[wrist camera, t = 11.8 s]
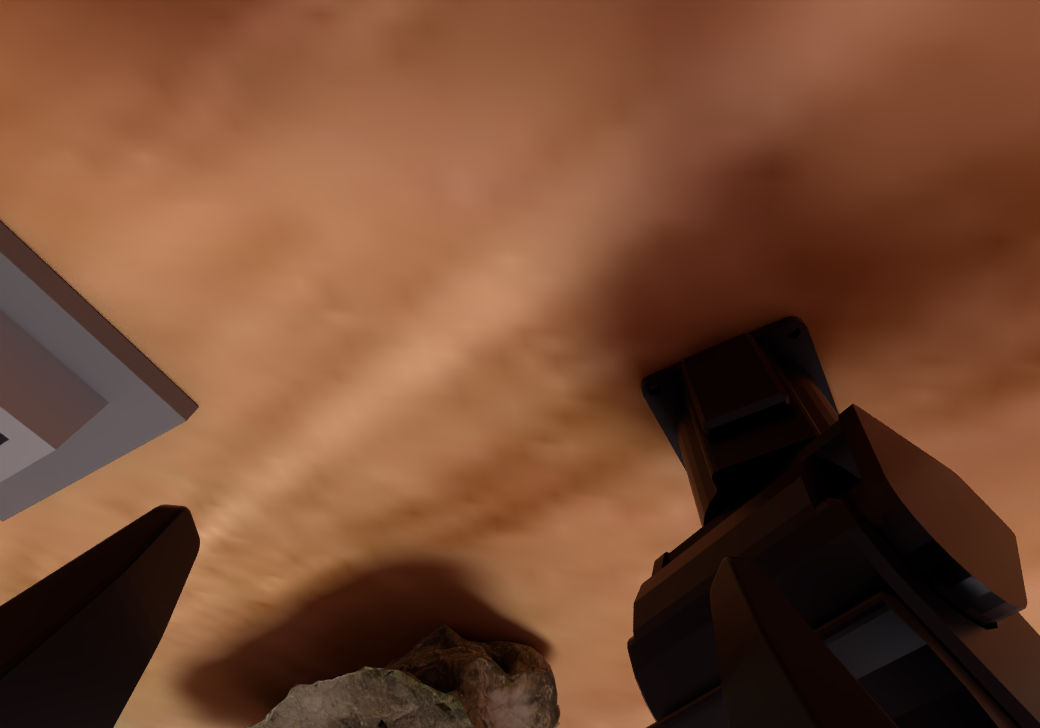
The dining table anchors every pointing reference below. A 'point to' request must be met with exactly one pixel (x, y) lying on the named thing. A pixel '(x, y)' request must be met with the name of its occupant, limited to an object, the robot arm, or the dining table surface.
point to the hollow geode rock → (431, 690)
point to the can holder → (67, 385)
